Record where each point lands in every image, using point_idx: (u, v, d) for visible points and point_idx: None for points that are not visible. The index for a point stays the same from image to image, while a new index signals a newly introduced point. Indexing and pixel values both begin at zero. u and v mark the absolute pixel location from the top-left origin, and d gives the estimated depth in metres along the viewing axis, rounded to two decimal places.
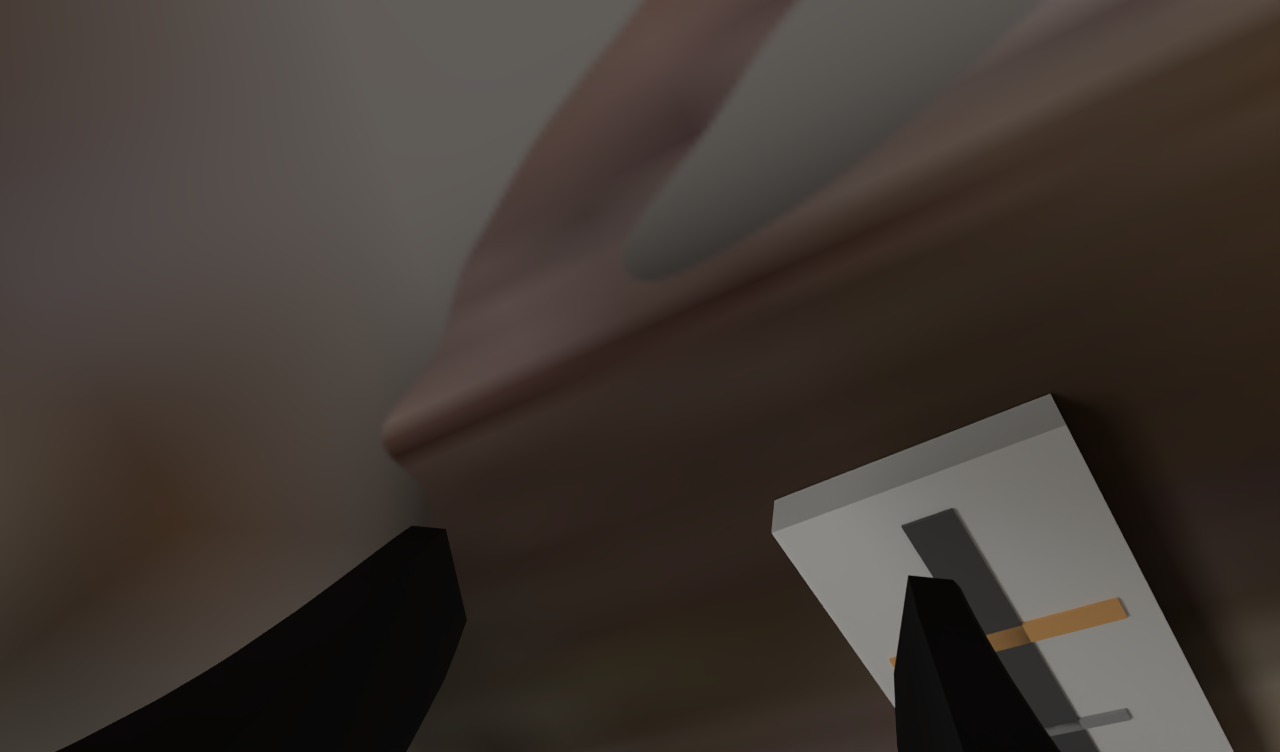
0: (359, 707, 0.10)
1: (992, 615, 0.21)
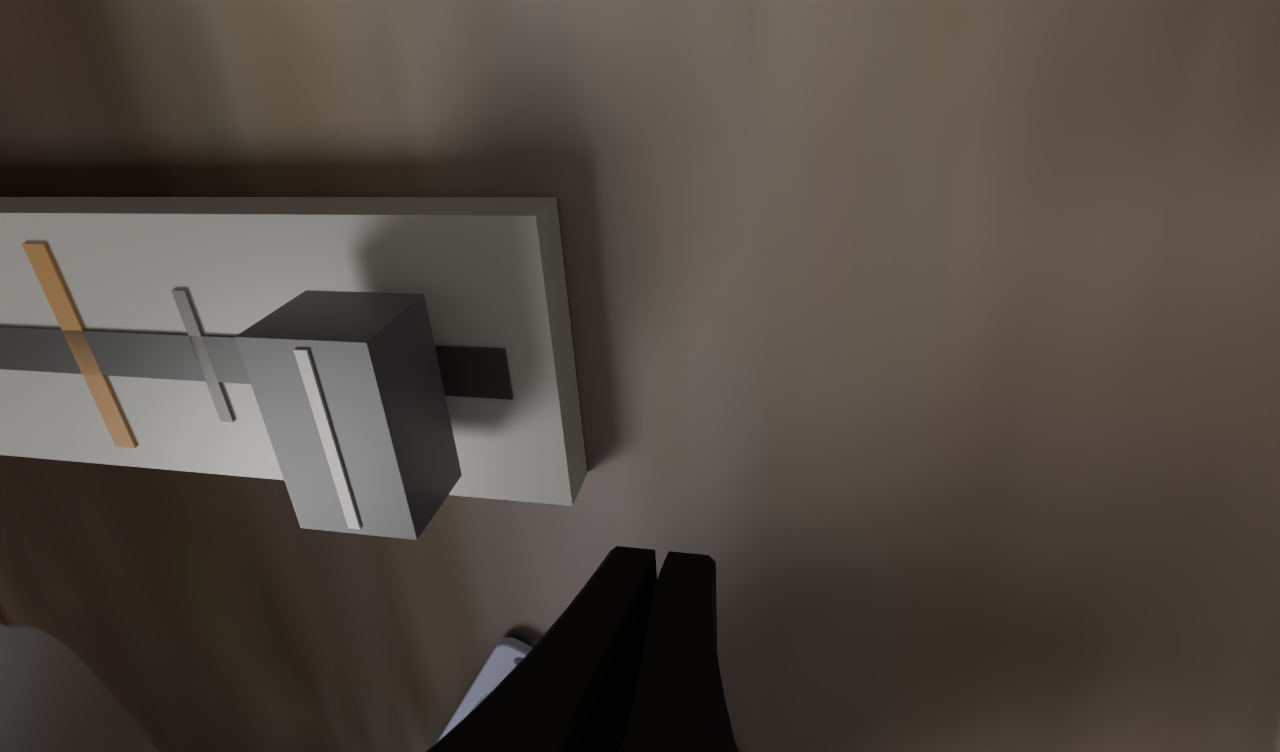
0: (604, 746, 0.09)
1: (57, 345, 0.22)
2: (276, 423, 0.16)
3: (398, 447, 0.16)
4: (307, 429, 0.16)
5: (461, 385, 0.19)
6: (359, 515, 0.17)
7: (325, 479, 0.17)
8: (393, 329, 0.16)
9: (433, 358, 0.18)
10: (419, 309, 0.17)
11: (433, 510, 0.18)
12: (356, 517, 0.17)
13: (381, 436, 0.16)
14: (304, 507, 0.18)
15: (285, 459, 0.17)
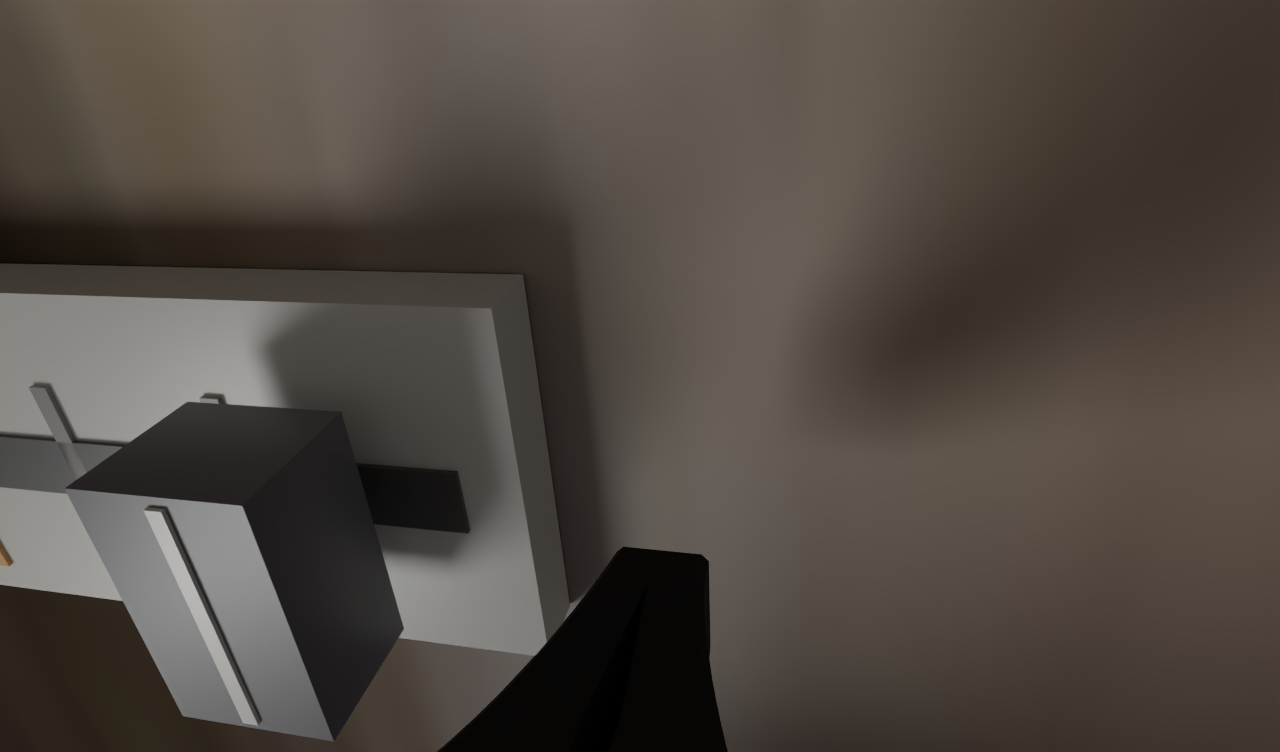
0: None
1: None
2: (135, 596, 0.12)
3: (300, 631, 0.12)
4: (176, 605, 0.12)
5: (402, 513, 0.15)
6: (255, 707, 0.13)
7: (207, 664, 0.13)
8: (289, 474, 0.11)
9: (357, 493, 0.13)
10: (333, 434, 0.12)
11: (360, 691, 0.14)
12: (252, 710, 0.13)
13: (274, 620, 0.12)
14: (184, 694, 0.13)
15: (152, 638, 0.12)
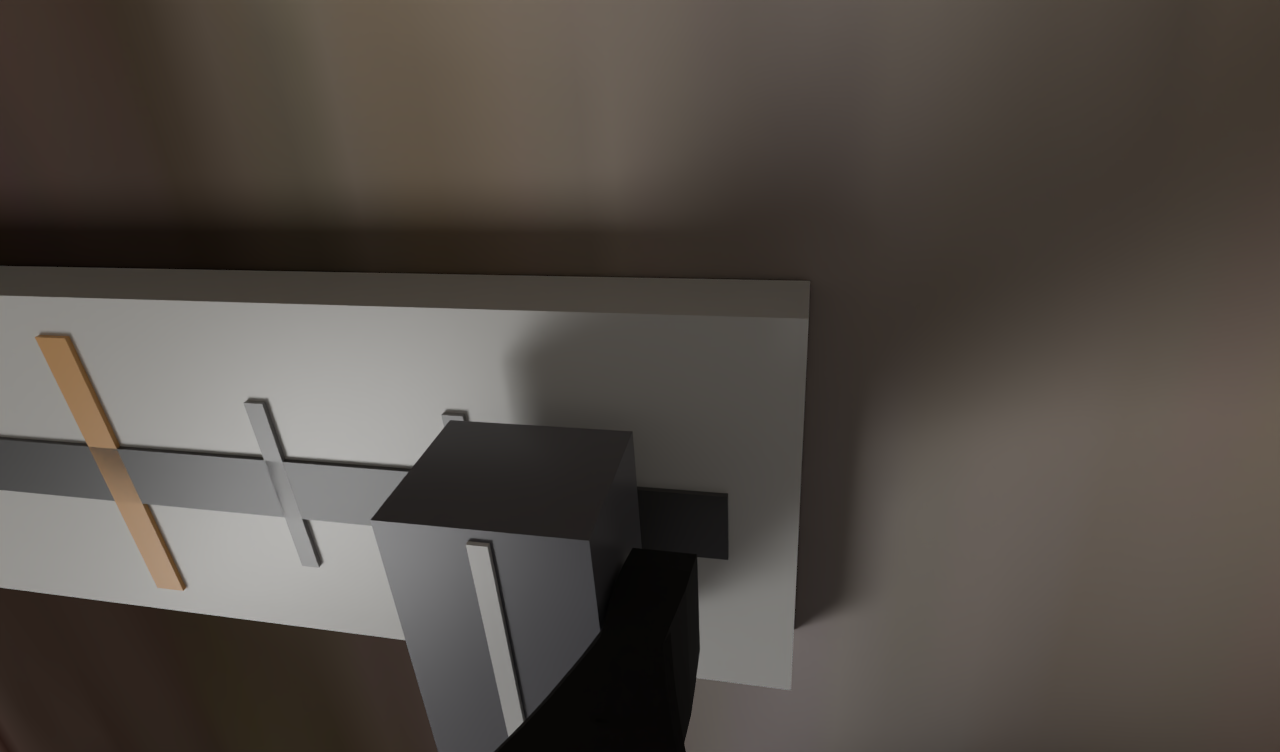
0: None
1: (82, 464, 0.16)
2: (422, 635, 0.11)
3: None
4: (471, 645, 0.11)
5: (654, 538, 0.14)
6: None
7: (488, 709, 0.11)
8: (609, 503, 0.10)
9: (636, 519, 0.12)
10: (628, 456, 0.11)
11: None
12: None
13: None
14: (450, 738, 0.12)
15: (430, 680, 0.11)
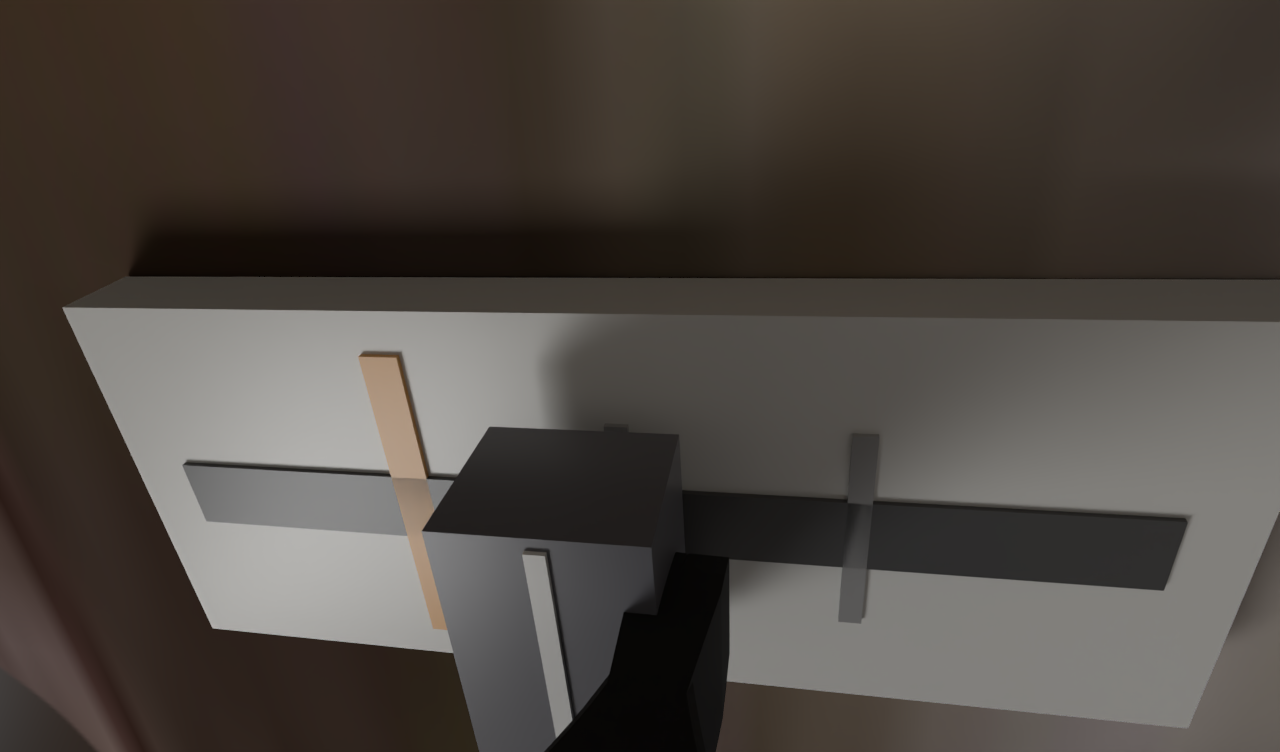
0: None
1: (374, 496, 0.14)
2: (470, 648, 0.11)
3: None
4: (523, 656, 0.11)
5: (1077, 568, 0.12)
6: None
7: (537, 720, 0.11)
8: (664, 508, 0.10)
9: (682, 523, 0.12)
10: (676, 460, 0.11)
11: None
12: None
13: None
14: (496, 751, 0.12)
15: (477, 692, 0.11)
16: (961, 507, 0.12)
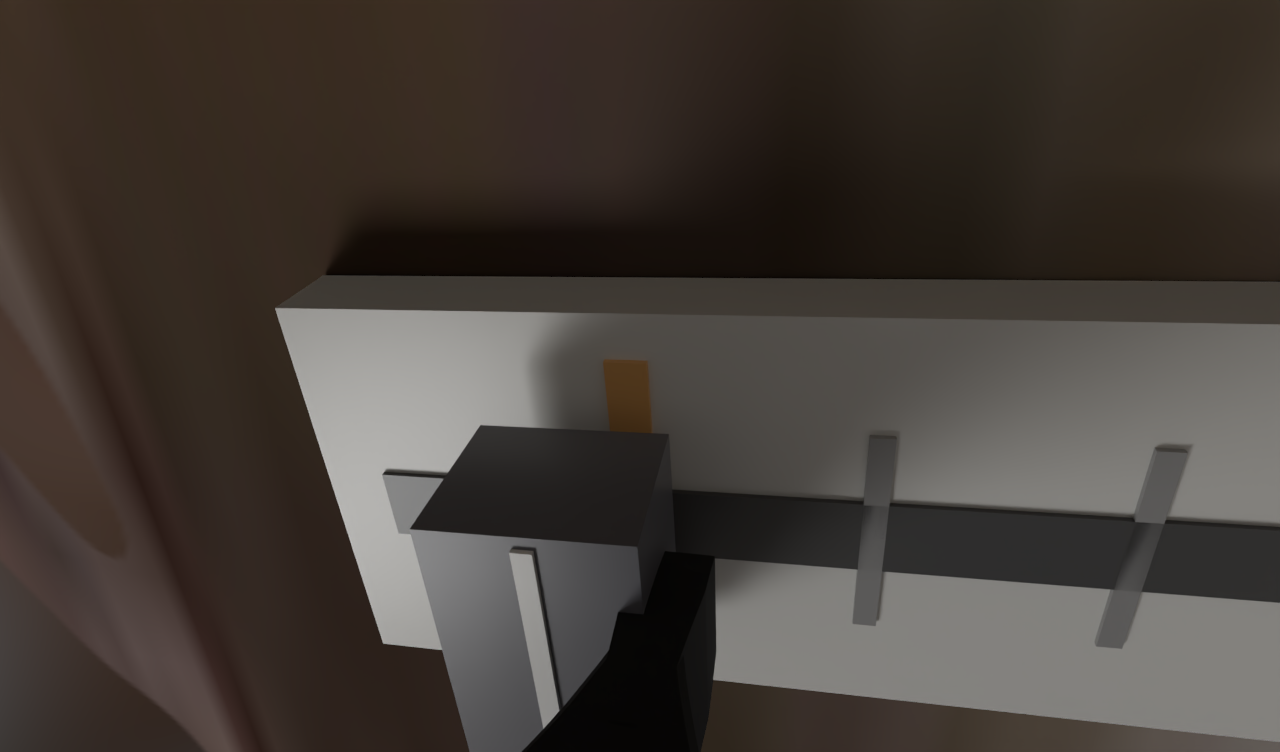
0: None
1: None
2: (459, 644, 0.11)
3: None
4: (511, 655, 0.11)
5: None
6: None
7: (526, 718, 0.11)
8: (651, 507, 0.10)
9: (672, 522, 0.12)
10: (666, 459, 0.11)
11: None
12: None
13: None
14: (486, 749, 0.12)
15: (466, 690, 0.11)
16: (1265, 527, 0.11)
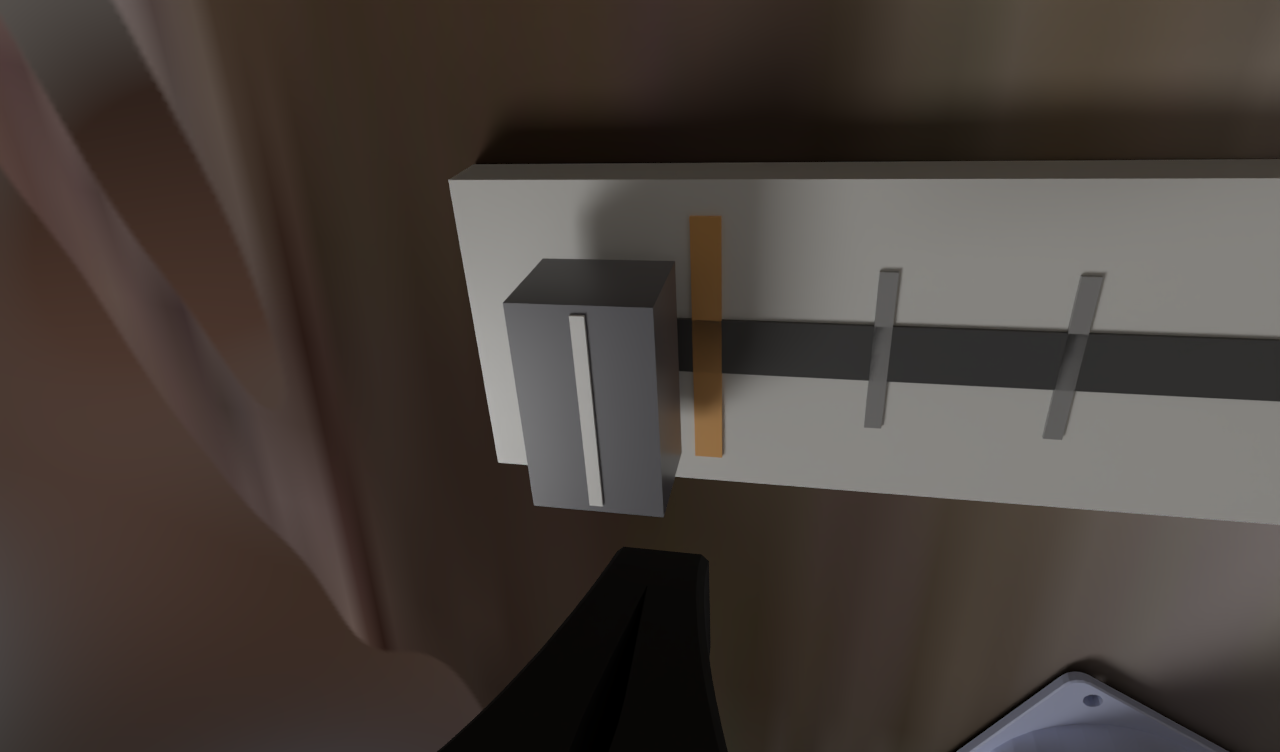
0: None
1: None
2: (530, 395, 0.16)
3: (660, 419, 0.16)
4: (565, 400, 0.16)
5: (1246, 386, 0.16)
6: (603, 491, 0.17)
7: (573, 454, 0.16)
8: (662, 296, 0.15)
9: (676, 329, 0.17)
10: (672, 277, 0.16)
11: (670, 487, 0.17)
12: (600, 493, 0.17)
13: (647, 408, 0.15)
14: (542, 483, 0.17)
15: (532, 433, 0.16)
16: (1159, 336, 0.16)
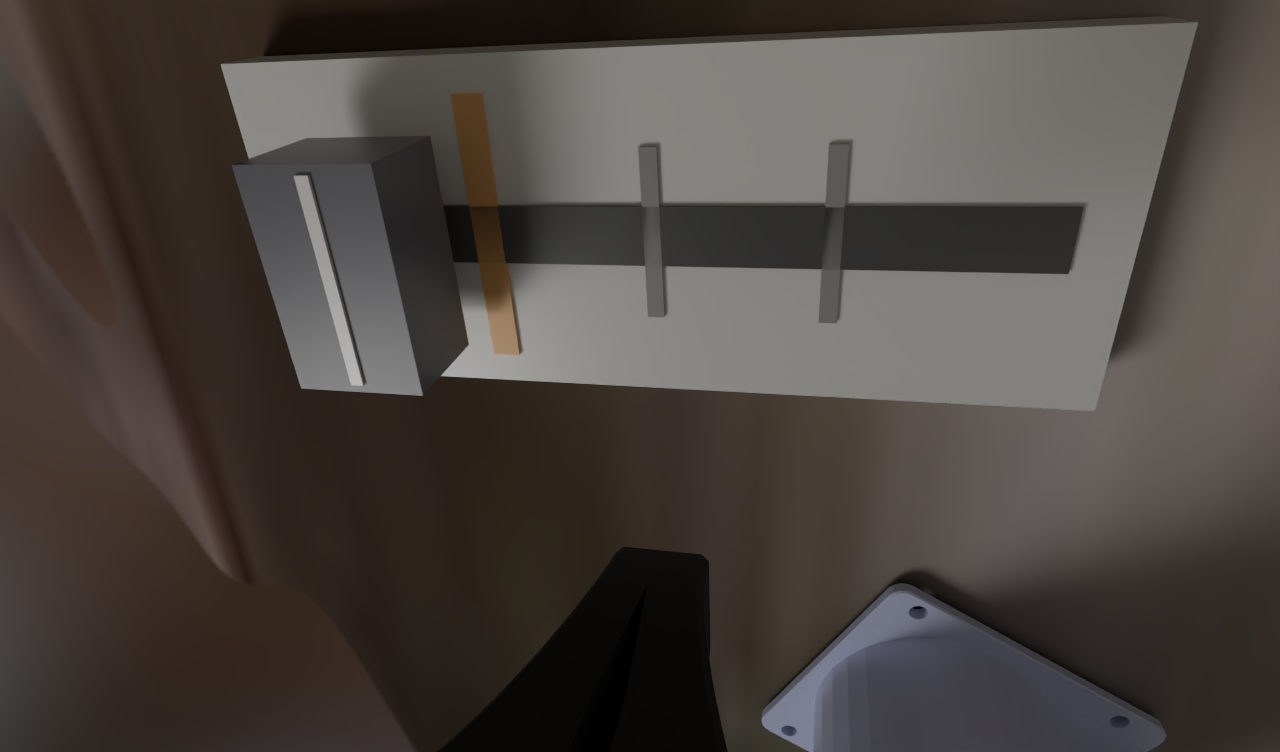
0: None
1: (454, 228, 0.18)
2: (275, 266, 0.16)
3: (403, 289, 0.16)
4: (308, 270, 0.16)
5: (1002, 258, 0.16)
6: (362, 370, 0.17)
7: (326, 330, 0.16)
8: (397, 161, 0.15)
9: (440, 209, 0.17)
10: (425, 150, 0.16)
11: (439, 371, 0.17)
12: (359, 372, 0.17)
13: (385, 274, 0.15)
14: (305, 364, 0.17)
15: (285, 308, 0.16)
16: (912, 206, 0.16)
